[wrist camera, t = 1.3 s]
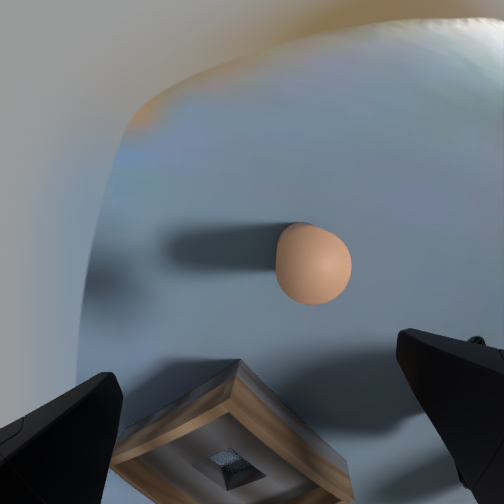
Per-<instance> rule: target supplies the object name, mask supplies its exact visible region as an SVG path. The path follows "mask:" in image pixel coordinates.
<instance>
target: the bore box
mask: <svg viewBox="0 0 504 504" xmlns="http://www.w3.org/2000/svg"><path fill="white" fill-rule="evenodd" d="M229 448H231V449H232V450H234V451H235V452H236V453H237V454H239V455H240V456H241V457H242V458H244V459H245V460H246V461H248V462H249V463H250V464H252V465H253V466H250V467H248V468H246V469H243V470H241V471H238V472H236V473H233V474H229V473H228V472H227V471H225V470H224V469H223V468H221V467H220V466H219V465H217V464H216V463H215V462H213V461H212V460H211V459H210V458H208V457H211V456H213V455H215V454H218V453H220V452H222V451H225V450H227V449H229ZM109 468H110V469H111V470H113V471H114V472H115V473H116V474H117V475H119V476H120V477H121V478H122V479H124V480H125V481H126V482H127V483H129V484H130V485H131V486H132V487H134V488H135V489H136V490H138V491H139V492H140V493H142V494H143V495H144V496H146V497H147V498H149V499H150V500H151V501H153V502H154V503H156V504H346V503H349V502H351V501H353V500H354V495H353V490H352V485H351V480H350V475H349V471H348V466H347V461H346V460H345V459H344V458H343V457H342V456H341V455H339V454H338V453H337V452H336V451H335V450H334V449H333V448H331V447H330V446H329V445H328V444H327V443H326V442H325V441H324V440H322V439H321V438H320V437H319V436H318V435H317V434H316V433H315V432H314V431H313V430H311V429H310V428H309V427H308V426H307V425H306V424H305V423H304V422H303V421H302V420H301V419H300V418H299V417H298V416H297V415H296V414H294V413H293V412H292V411H291V410H290V409H289V408H288V407H287V406H286V405H285V404H284V403H283V402H282V401H281V400H280V399H279V398H278V397H277V396H276V395H275V394H274V393H273V392H272V391H271V390H270V389H269V388H268V387H267V386H266V385H265V384H264V383H263V382H262V381H261V380H260V379H259V378H258V377H257V376H256V375H255V374H254V373H253V372H252V371H251V369H250V368H249V367H248V366H247V365H246V364H245V363H244V362H243V361H242V360H241V359H240V360H238V361H237V362H235V363H234V364H233V365H231V366H230V367H228V368H226V369H225V370H223V371H222V372H220V373H219V374H217V375H216V376H214V377H213V378H211V379H210V380H208V381H206V382H205V383H203V384H202V385H200V386H199V387H197V388H195V389H194V390H192V391H191V392H189V393H187V394H186V395H184V396H182V397H181V398H179V399H177V400H176V401H174V402H172V403H171V404H169V405H167V406H166V407H164V408H162V409H161V410H159V411H157V412H155V413H154V414H152V415H150V416H148V417H147V418H145V419H143V420H141V421H140V422H138V423H136V424H134V425H132V426H130V427H129V428H127V429H125V430H124V432H123V433H122V435H121V436H120V437H119V439H118V440H117V442H116V443H115V446H114V450H113V453H112V457H111V461H110V465H109Z"/></svg>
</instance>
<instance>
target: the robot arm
mask: <svg viewBox="0 0 504 504" xmlns="http://www.w3.org/2000/svg"><path fill="white" fill-rule="evenodd" d="M479 341H480V342H479ZM478 342H479V343H478ZM396 358H397V361H398V363H399V365H400V367H401V369H402V371H403V373H404V375H405V377H406V379H407V381H408V383H409V385H410V387H411V389H412V391H413V393H414V395H415V396H416V398H417V400H418V401H419V403H420V404H421V406H422V408H423V409H424V411H425V412H426V414H427V416H428V417H429V419H430V420H431V422H432V424H433V425H434V427H435V429H436V430H437V432H438V434H439V435H440V437H441V439H442V440H443V442H444V444H445V445H446V447H447V449H448V450H449V452H450V454H451V455H452V457H453V459H454V461H455V465H456V468H457V472H458V476H459V479H460V482H461V483H463V486H464V487H465V488H466V489H469V490H471V492H472V493H473V495H474V497H475V499H476V501H477V503H478V504H504V350H502V349H499V350H498V349H497V348H493V347H488V346H486V344H485V341H484V339H483V338H482V337H480V336H479V337H477V338H476V339H475V340H474V341H473V342H472V343H471V342H466V341H462V340H458V339H453V338H449V337H445V336H441V335H437V334H433V333H428V332H424V331H420V330H416V329H412V328H408V329H405V330H401V331H400V332H399V333H398V337H397V348H396ZM122 402H123V394H122V391H121V388H120V386H119V384H118V381H117V379H116V376H115V375H114V373H112V372H101V373H99V374H97V375H95V376H94V377H92V378H90V379H89V380H87V381H85V382H83V383H82V384H80V385H78V386H76V387H75V388H73V389H71V390H70V391H68V392H66V393H64V394H62V395H61V396H59V397H57V398H56V399H54V400H52V401H50V402H48V403H47V404H45V405H43V406H41V407H40V408H38V409H36V410H34V411H32V412H31V413H29V414H27V415H25V417H21V418H20V419H18V420H16V421H14V422H12V423H11V424H8V425H7V426H4V427H3V428H0V504H101V499H102V495H103V490H104V486H105V482H106V477H107V473H108V469H109V465H110V461H111V457H112V453H113V450H114V446H115V442H116V438H117V433H118V427H119V420H120V414H121V408H122Z"/></svg>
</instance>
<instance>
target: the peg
mask: <svg viewBox="0 0 504 504" xmlns="http://www.w3.org/2000/svg"><path fill="white" fill-rule="evenodd" d="M350 274H351V258H350V254H349V252H348V249H347V247H346V246H345V244H344V243H343V242H342V241H341V240H340V239H339V238H338V237H337V236H335V235H334V234H332V233H330V232H328V231H326V230H323V229H321V228H319V227H316V226H314V225H312V224H309V223H305V222H298V223H294V224H291V225H289V226H288V227H286V228H285V229H284V230H283V231H282V233H281V234H280V236H279V239H278V242H277V254H276V276H277V280H278V283H279V285H280V287H281V288H282V290H283V291H284V292H285V293H286V294H287V295H288V296H289V297H290V298H292V299H293V300H295V301H297V302H299V303H302V304H307V305H318V304H323V303H326V302H328V301H330V300H332V299H334V298H335V297H337V296H338V295H339V294H340V293H341V292H342V291H343V289H344V288H345V286H346V285H347V283H348V281H349V278H350Z"/></svg>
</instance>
